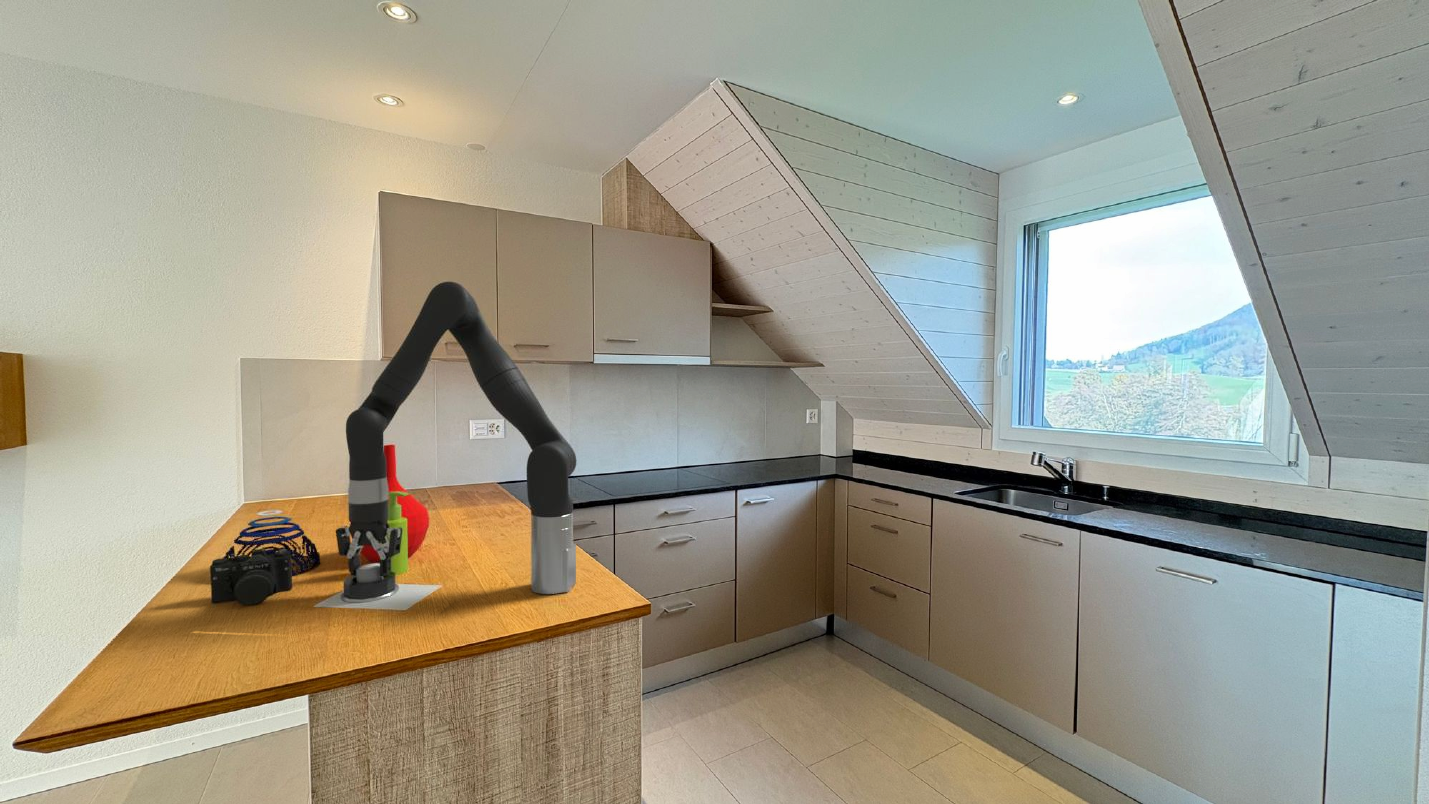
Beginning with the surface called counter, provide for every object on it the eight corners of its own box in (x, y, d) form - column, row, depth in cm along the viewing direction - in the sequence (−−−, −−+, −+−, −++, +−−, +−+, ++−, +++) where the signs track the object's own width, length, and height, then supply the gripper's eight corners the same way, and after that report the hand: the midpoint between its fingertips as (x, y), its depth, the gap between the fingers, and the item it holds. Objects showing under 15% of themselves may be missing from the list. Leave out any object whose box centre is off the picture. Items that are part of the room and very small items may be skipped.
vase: (356, 573, 142) (353, 451, 141) (345, 555, 157) (343, 444, 155) (437, 559, 154) (435, 446, 152) (420, 543, 168) (419, 440, 167)
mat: (442, 587, 134) (442, 585, 134) (405, 611, 120) (405, 609, 120) (358, 584, 135) (358, 582, 135) (312, 608, 121) (312, 606, 121)
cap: (388, 586, 131) (387, 562, 131) (374, 593, 126) (372, 568, 126) (367, 587, 131) (366, 563, 131) (352, 594, 126) (350, 569, 126)
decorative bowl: (217, 591, 131) (215, 527, 130) (217, 568, 146) (215, 511, 145) (324, 572, 144) (323, 514, 143) (314, 553, 159) (312, 500, 158)
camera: (200, 616, 117) (199, 566, 117) (215, 598, 126) (213, 552, 126) (286, 603, 124) (285, 556, 123) (293, 587, 133) (292, 544, 133)
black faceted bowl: (409, 585, 134) (409, 570, 133) (378, 603, 123) (378, 587, 122) (363, 583, 134) (362, 568, 134) (328, 602, 123) (327, 585, 123)
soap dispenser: (399, 578, 139) (398, 495, 138) (374, 576, 140) (373, 493, 140) (417, 570, 145) (415, 490, 144) (392, 568, 146) (391, 489, 145)
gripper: (410, 496, 131) (411, 570, 131) (349, 494, 132) (350, 568, 132) (389, 503, 123) (391, 581, 124) (324, 501, 124) (326, 579, 125)
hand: (370, 574), depth 128 cm, fingers open, 6 cm apart
